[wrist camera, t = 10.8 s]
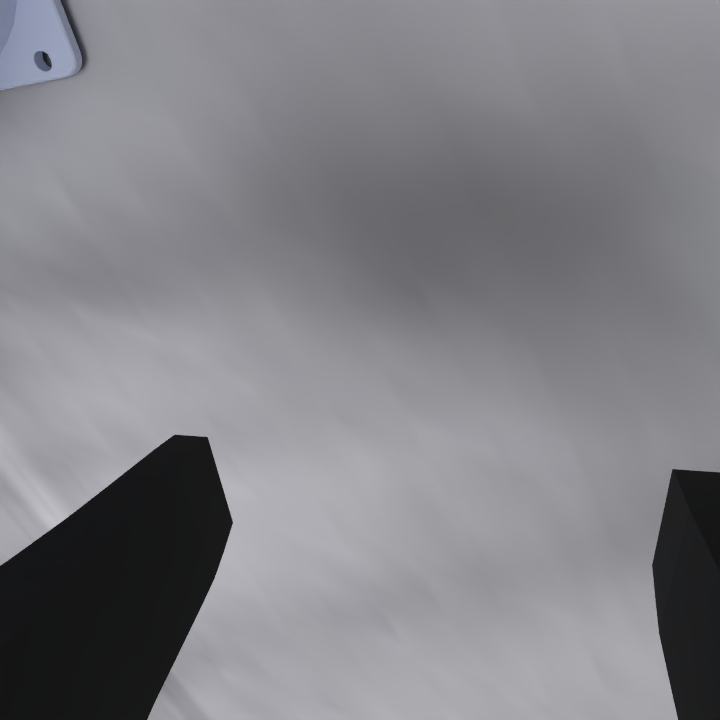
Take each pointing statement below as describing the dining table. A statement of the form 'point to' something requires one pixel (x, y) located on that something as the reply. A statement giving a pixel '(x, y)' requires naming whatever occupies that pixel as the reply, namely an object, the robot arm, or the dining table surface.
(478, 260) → the dining table surface
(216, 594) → the dining table surface
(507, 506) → the dining table surface
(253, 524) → the dining table surface
